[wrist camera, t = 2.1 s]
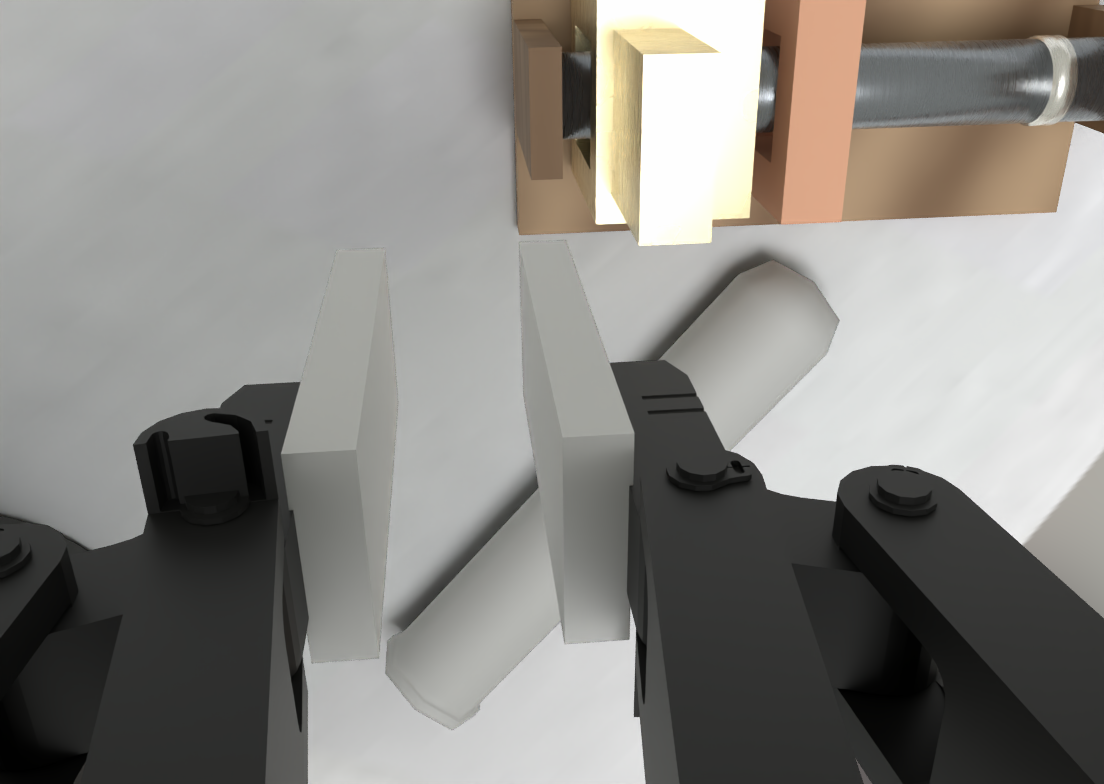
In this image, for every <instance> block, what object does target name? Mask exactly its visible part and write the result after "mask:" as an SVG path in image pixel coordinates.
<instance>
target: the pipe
mask: <svg viewBox="0 0 1104 784" xmlns="http://www.w3.org/2000/svg"><path fill="white" fill-rule="evenodd" d="M779 55H780V46H762V52H761V66H760V80H759V93H758V107H757V121H756V133H763V132H773V130H774V118H775V105H776V93H777V80H778V67H779ZM590 88H591V51H584V52H562V128H563V140H564V139H590ZM1102 120H1104V37H1076V38H1066V37H1064V36H1062V35H1038V36H1031V37H1029V38H1028V39H1006V40H971V41H936V42H901V43H865V44H861V52H860V61H859V69H858V78H857V87H856V96H855V105H854V114H853V123H852V129H876V128H904V127H932V126H961V125H989V124H1017V123H1020V124H1021V125H1023V126H1044V125H1054V124H1056V123H1057V122H1074V121H1102Z"/></svg>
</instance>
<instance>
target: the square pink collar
mask: <svg viewBox="0 0 1104 784" xmlns="http://www.w3.org/2000/svg"><path fill="white" fill-rule="evenodd" d="M865 7H866V0H765V11H764V24H763V38H762V46H780V55H779V67H778V80H777V93H776V105H775V118H774V130H773V132H763V133H756V135H755V149H754V162H753V176H752V190H751V195H752V196H753V197H754V198H755V199H756V200H757V201H758V202H759V203H760V204H761V205H762V206H763V207H764V208H765V209H766V210H767V211H768V212H769V213H770V214H771V215H772V216H773V217H774V218H775V219H776V220H777V221H778V222H779V223H780V224H804V223H827V222H841V220H842V211H843V203H844V194H845V185H846V176H847V167H848V158H849V149H850V140H851V132H852V123H853V114H854V105H855V96H856V87H857V78H858V69H859V61H860V52H861V43H862V34H863V25H864V16H865Z"/></svg>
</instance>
